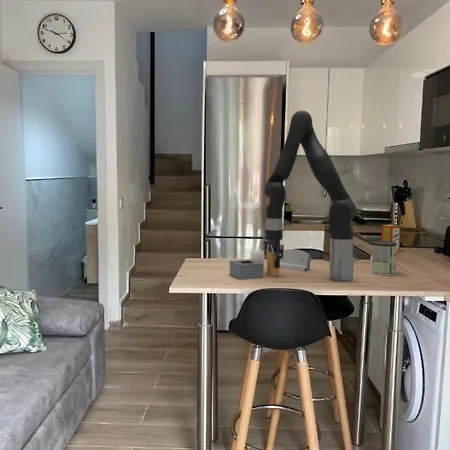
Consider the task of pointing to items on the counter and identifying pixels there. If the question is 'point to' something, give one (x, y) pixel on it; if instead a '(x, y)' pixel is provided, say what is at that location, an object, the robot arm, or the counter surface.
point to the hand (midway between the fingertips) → (273, 266)
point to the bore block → (246, 269)
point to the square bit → (271, 265)
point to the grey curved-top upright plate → (295, 260)
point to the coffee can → (384, 258)
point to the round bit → (257, 255)
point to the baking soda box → (391, 234)
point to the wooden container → (327, 242)
